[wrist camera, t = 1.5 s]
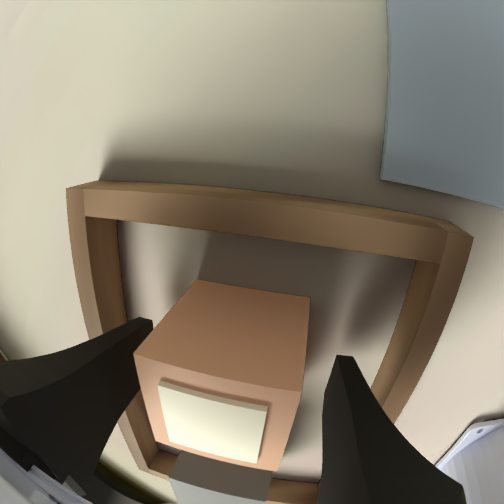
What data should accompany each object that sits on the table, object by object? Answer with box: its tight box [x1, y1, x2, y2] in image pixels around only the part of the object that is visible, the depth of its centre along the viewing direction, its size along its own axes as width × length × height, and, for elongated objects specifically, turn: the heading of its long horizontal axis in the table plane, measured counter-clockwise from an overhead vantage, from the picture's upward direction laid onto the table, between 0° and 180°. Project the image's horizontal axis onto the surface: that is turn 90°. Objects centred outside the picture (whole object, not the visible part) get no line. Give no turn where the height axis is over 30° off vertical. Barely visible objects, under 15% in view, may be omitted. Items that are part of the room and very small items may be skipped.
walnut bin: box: [66, 181, 474, 504], centre depth 13 cm, size 14×20×2 cm
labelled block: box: [133, 280, 310, 472], centre depth 10 cm, size 4×4×5 cm
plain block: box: [168, 450, 273, 504], centre depth 13 cm, size 4×4×5 cm
